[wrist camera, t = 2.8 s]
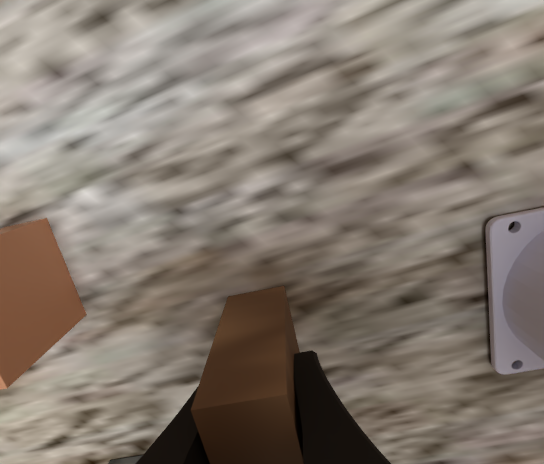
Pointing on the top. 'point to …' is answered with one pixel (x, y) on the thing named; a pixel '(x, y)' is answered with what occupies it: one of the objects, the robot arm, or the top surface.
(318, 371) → the robot arm
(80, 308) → the block
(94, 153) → the top surface
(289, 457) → the block
